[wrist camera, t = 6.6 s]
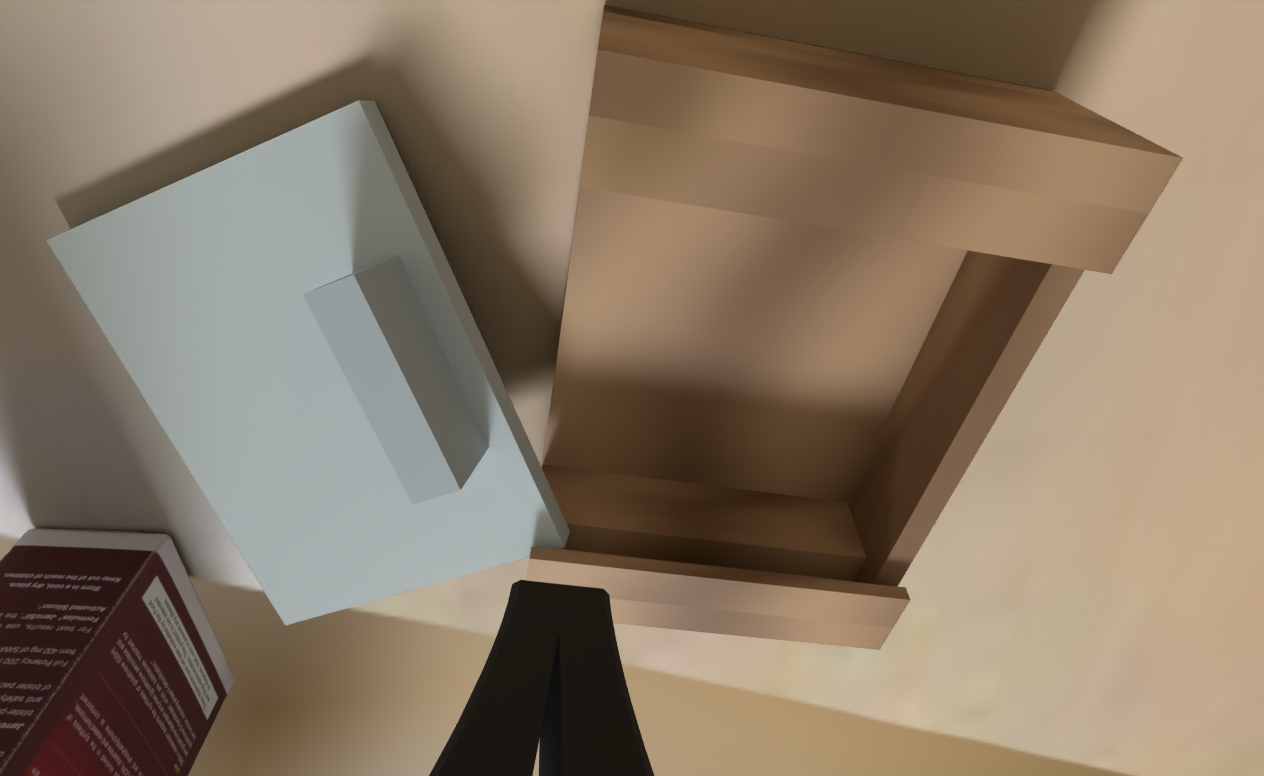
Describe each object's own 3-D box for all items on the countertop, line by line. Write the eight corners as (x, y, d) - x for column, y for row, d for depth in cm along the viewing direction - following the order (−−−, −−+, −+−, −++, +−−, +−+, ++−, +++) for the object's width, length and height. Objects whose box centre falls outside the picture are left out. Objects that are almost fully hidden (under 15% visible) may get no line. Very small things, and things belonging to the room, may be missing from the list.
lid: (375, 101, 16) (304, 97, 13) (570, 530, 19) (546, 600, 16) (73, 235, 18) (-45, 257, 15) (300, 607, 21) (238, 682, 18)
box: (1054, 91, 16) (1183, 158, 12) (840, 530, 24) (879, 649, 20) (604, 5, 15) (597, 50, 11) (538, 494, 23) (522, 613, 19)
